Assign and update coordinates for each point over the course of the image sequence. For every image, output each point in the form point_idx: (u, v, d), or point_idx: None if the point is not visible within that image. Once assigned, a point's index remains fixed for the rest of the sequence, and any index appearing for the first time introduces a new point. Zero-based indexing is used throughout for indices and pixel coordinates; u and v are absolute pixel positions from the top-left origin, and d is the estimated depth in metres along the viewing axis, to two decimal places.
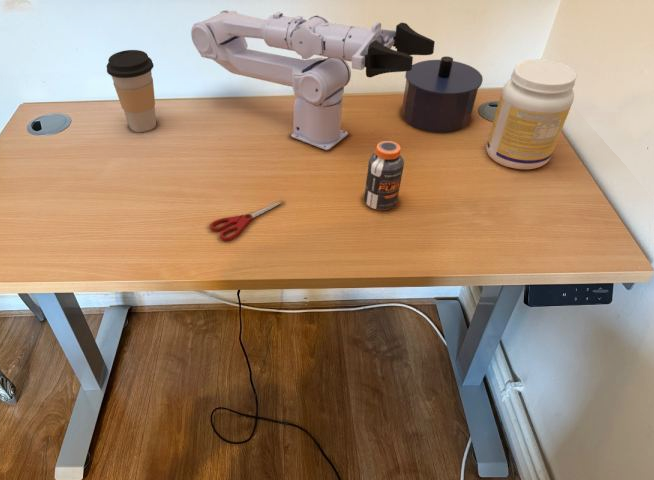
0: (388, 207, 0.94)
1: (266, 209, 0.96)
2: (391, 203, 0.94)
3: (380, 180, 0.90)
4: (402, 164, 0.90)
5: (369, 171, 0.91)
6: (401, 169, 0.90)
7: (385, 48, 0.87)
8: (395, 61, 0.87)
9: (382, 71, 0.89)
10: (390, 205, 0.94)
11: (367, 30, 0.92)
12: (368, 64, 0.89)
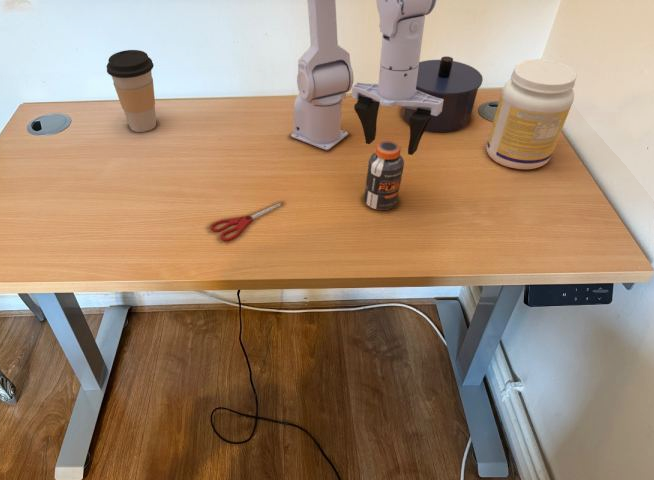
0: (388, 207, 0.94)
1: (266, 211, 0.96)
2: (391, 203, 0.94)
3: (380, 180, 0.90)
4: (402, 164, 0.90)
5: (369, 171, 0.91)
6: (401, 169, 0.90)
7: (364, 119, 0.87)
8: None
9: None
10: (390, 205, 0.94)
11: (386, 90, 0.81)
12: None
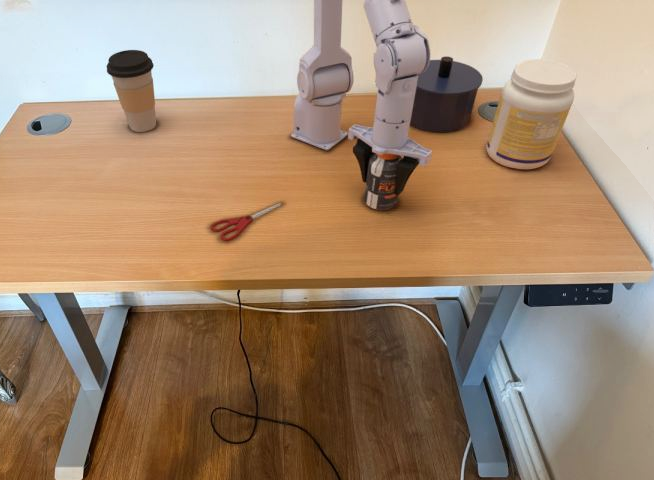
0: (388, 207, 0.94)
1: (266, 210, 0.96)
2: (391, 203, 0.94)
3: (380, 180, 0.90)
4: None
5: (369, 171, 0.91)
6: None
7: (361, 161, 0.92)
8: None
9: None
10: (390, 205, 0.94)
11: (379, 139, 0.86)
12: None
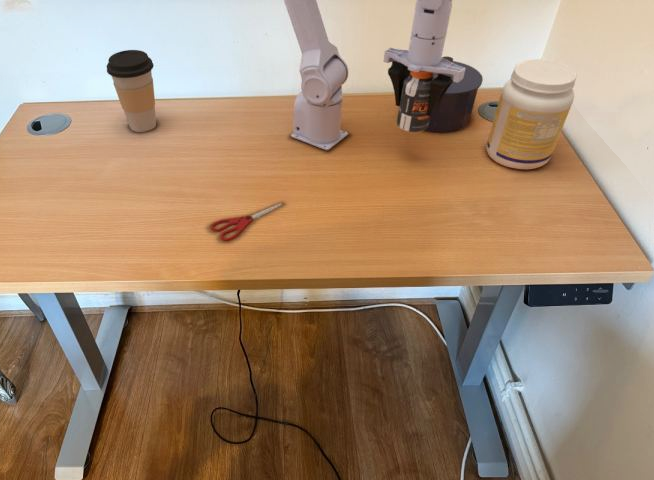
0: (420, 129, 0.99)
1: (267, 211, 0.96)
2: (423, 125, 0.99)
3: (414, 101, 0.95)
4: None
5: (403, 92, 0.96)
6: None
7: (396, 83, 0.96)
8: None
9: None
10: (422, 127, 0.99)
11: (415, 57, 0.90)
12: None
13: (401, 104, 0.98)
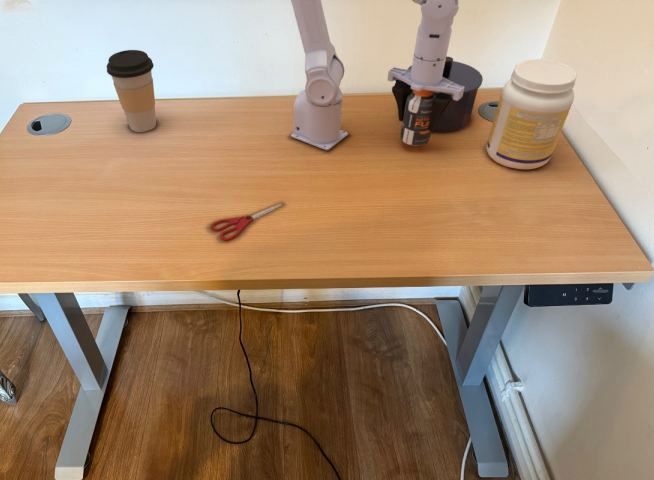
0: (422, 143, 1.06)
1: (267, 211, 0.96)
2: (425, 139, 1.05)
3: (416, 117, 1.02)
4: None
5: (406, 109, 1.03)
6: None
7: (399, 100, 1.03)
8: None
9: None
10: (424, 141, 1.05)
11: (417, 76, 0.97)
12: None
13: (404, 119, 1.04)
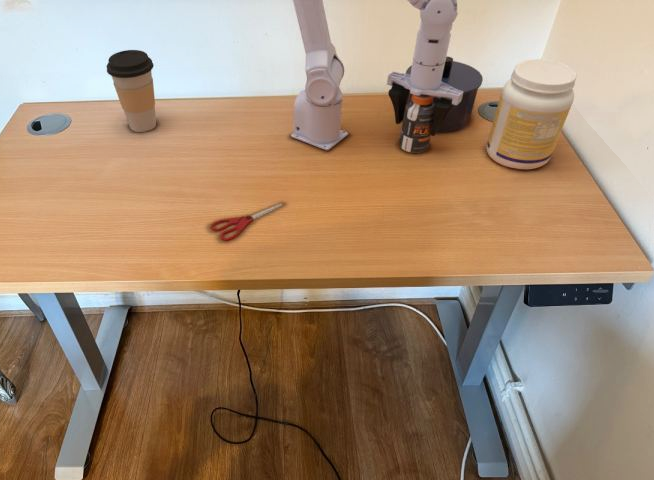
0: (421, 150, 1.07)
1: (267, 211, 0.96)
2: (424, 146, 1.06)
3: (415, 124, 1.03)
4: None
5: (405, 117, 1.04)
6: None
7: (396, 103, 1.04)
8: None
9: None
10: (423, 148, 1.07)
11: (416, 81, 0.97)
12: None
13: (403, 127, 1.06)
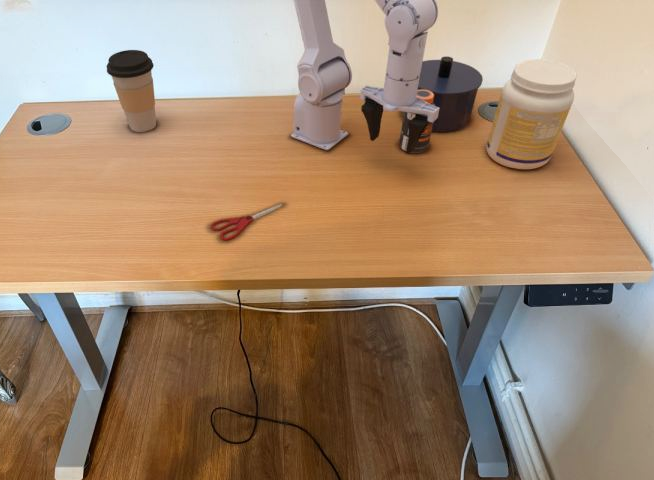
0: (421, 150, 1.07)
1: (267, 211, 0.96)
2: (424, 146, 1.06)
3: None
4: None
5: (405, 117, 1.04)
6: None
7: (369, 119, 0.98)
8: None
9: None
10: (423, 148, 1.07)
11: (389, 97, 0.91)
12: None
13: (403, 127, 1.06)
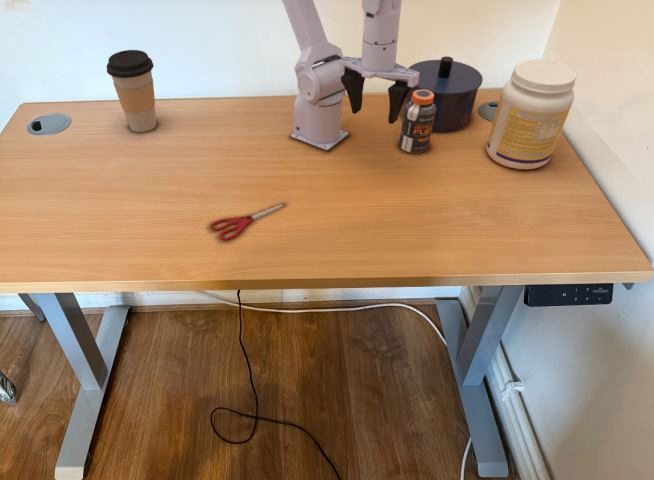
0: (421, 150, 1.07)
1: (267, 211, 0.96)
2: (424, 146, 1.06)
3: (415, 124, 1.03)
4: (435, 109, 1.02)
5: (405, 117, 1.04)
6: (434, 114, 1.02)
7: (349, 90, 0.95)
8: None
9: None
10: (423, 148, 1.07)
11: (367, 63, 0.89)
12: None
13: (403, 127, 1.06)
